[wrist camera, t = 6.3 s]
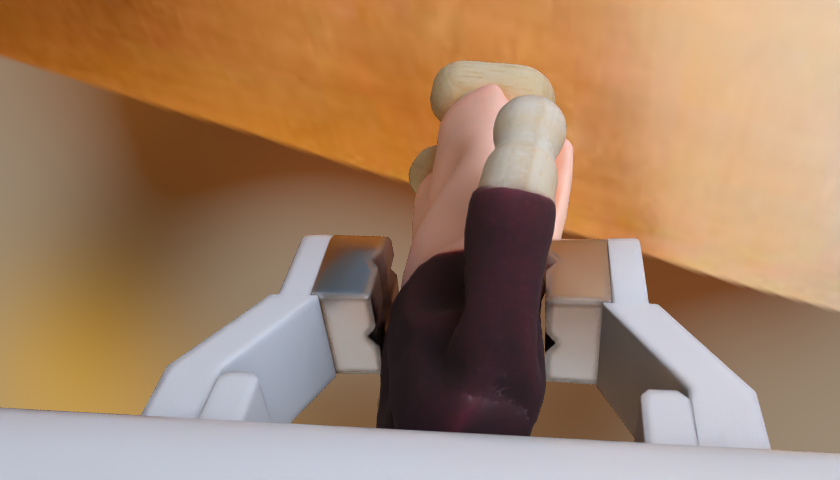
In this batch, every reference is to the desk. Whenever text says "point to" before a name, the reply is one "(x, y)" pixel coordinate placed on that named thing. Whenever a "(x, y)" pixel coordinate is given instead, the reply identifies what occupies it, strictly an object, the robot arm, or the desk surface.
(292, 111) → the desk surface
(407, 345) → the grandmother figurine
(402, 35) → the desk surface
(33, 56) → the desk surface
